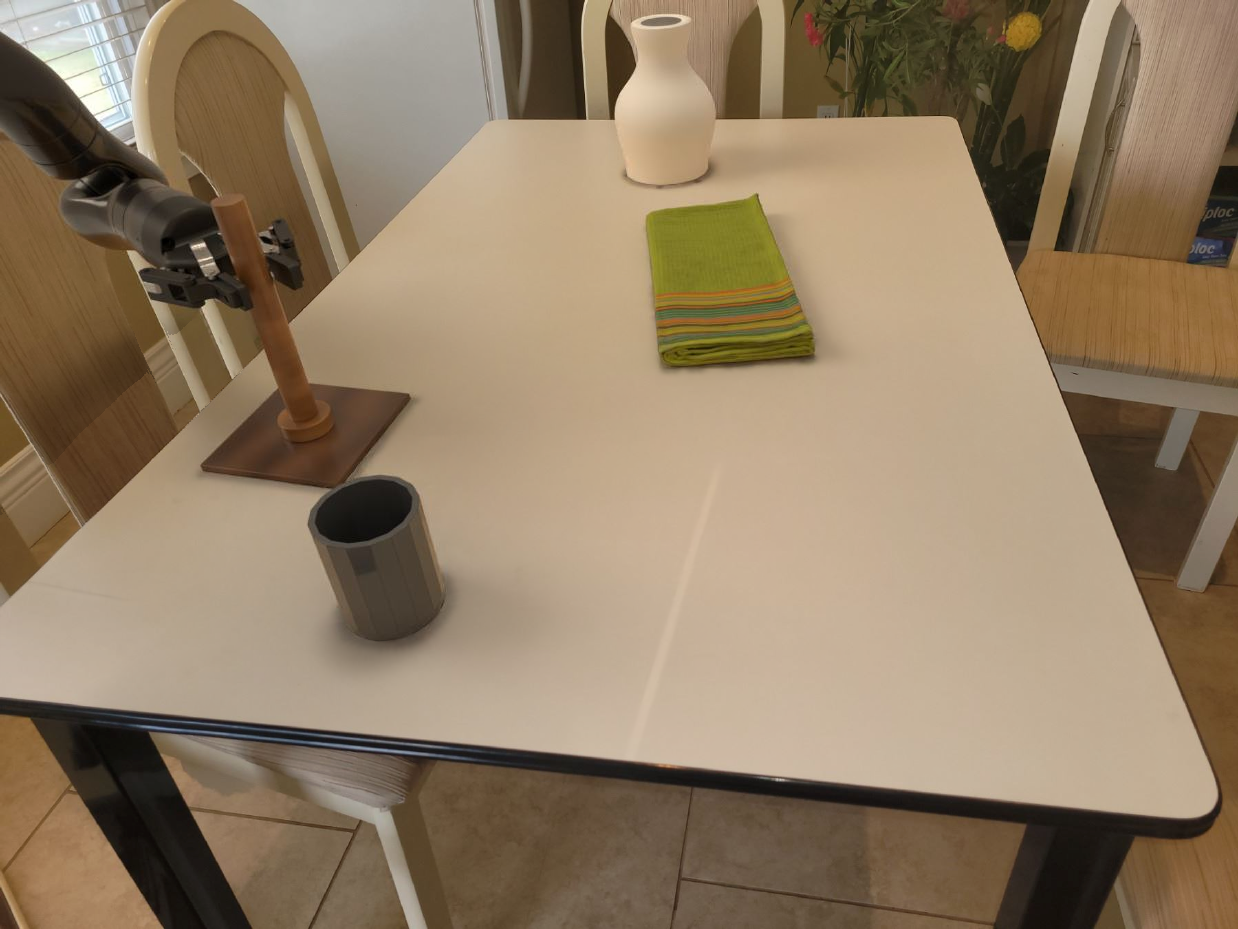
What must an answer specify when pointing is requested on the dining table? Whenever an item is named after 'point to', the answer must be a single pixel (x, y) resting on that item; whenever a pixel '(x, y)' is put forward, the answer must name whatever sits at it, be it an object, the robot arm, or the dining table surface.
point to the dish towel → (722, 286)
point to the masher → (271, 322)
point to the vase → (664, 106)
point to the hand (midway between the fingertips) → (271, 288)
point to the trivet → (311, 462)
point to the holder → (378, 556)
